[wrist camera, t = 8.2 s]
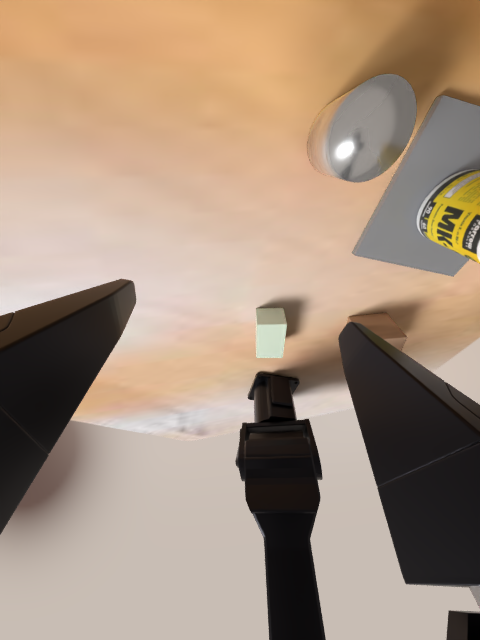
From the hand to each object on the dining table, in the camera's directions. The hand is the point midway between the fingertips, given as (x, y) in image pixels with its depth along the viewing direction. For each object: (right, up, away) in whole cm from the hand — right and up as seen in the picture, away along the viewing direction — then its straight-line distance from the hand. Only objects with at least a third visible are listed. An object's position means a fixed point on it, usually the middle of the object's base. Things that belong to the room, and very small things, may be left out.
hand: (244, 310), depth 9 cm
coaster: (+16, +9, +8) cm, 20 cm away
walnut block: (+14, -1, +16) cm, 22 cm away
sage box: (+3, -1, +16) cm, 17 cm away
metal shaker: (+6, +12, +6) cm, 15 cm away
